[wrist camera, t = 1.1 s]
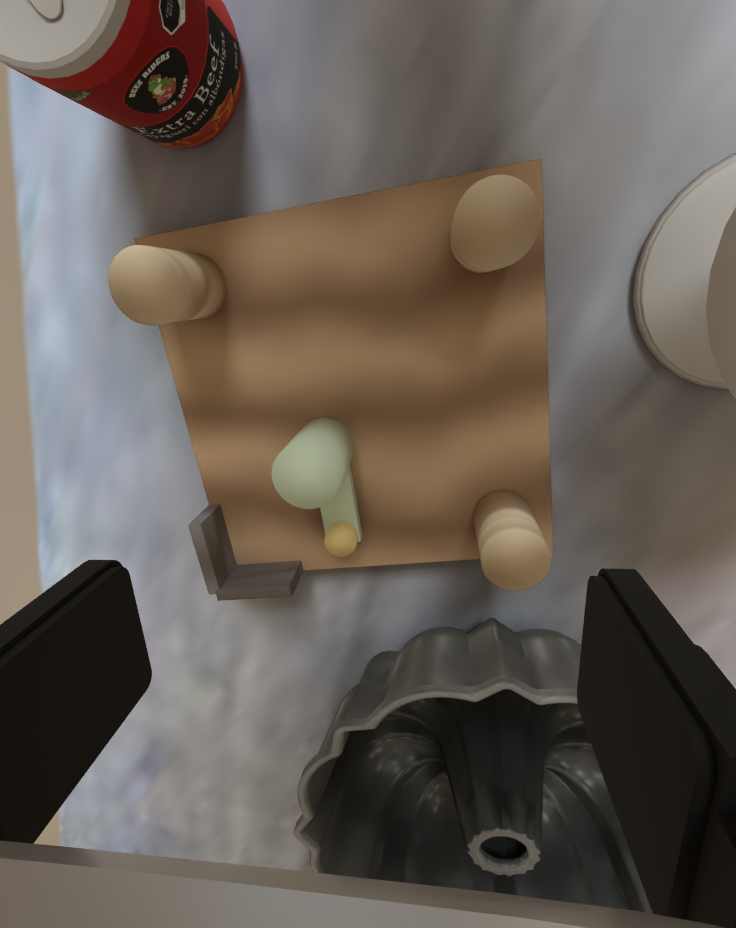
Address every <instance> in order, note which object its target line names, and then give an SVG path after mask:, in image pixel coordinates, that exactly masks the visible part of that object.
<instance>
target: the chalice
mask: <svg viewBox="0 0 736 928" xmlns="http://www.w3.org/2000/svg"><path fill="white" fill-rule="evenodd" d="M633 303H634V310H635V316H636V323H637V326H638V328H639V331H640V333H641V335H642V338H643V340H644V342H645V345H646V346H647V348H648V349H649V350H650V351H651V353H652V354H653V355H654V356H655V358H656V359H657V360H658V362H659V363H660V364H662V365H663V366H664V367H666V368H667V369H668V370H670V371H671V372H672V373H674V374H675V375H676V376H678V377H680V378H682V379H685V380H687V381H690V382H692V383H695V384H697V385H700V386H706V387H713V388H719V389H729V391H730V393H731V395H732V396H733V397H734V398H735V399H736V153H735V154H732V155H730V156H729V157H727V158H725V159H724V160H722V161H720V162H718V163H717V164H715V165H713V166H712V167H710V168H708V169H707V170H705V171H703V172H702V173H701V174H700V175H699V176H698V177H696V178H695V179H694V180H693V181H692V182H691V183H689V184H688V185H687V186H686V187H685V188H684V189H683V190H681V191H680V192H679V193H678V194H677V195H676V197H675V198H674V199H673V200H672V202H671V203H670V204H669V205H668V207H667V208H666V209H665V210H664V212H663V213H662V214H661V215H660V217H659V218H658V220H657V221H656V223H655V225H654V227H653V229H652V231H651V232H650V234H649V236H648V238H647V240H646V242H645V244H644V246H643V249H642V252H641V255H640V259H639V262H638V265H637V268H636V272H635V281H634V292H633Z"/></svg>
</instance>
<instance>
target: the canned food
mask: <svg viewBox="0 0 736 928" xmlns="http://www.w3.org/2000/svg"><path fill="white" fill-rule="evenodd" d="M0 61H1V62H3V63H5V64H6V65H7V66H9V67H10V68H12V69H14V70H16V71H18V72H20V73H22V74H24V75H26V76H28V77H29V78H31V79H32V80H34V81H36V82H38V83H40V84H42V85H44V86H46V87H48V88H50V89H52V90H53V91H55V92H57V93H59V94H61V95H63V96H65V97H67V98H69V99H71V100H73V101H75V102H77V103H79V104H81V105H83V106H85V107H87V108H89V109H90V110H92V111H94V112H96V113H98V114H100V115H102V116H104V117H106V118H108V119H110V120H112V121H114V122H116V123H118V124H120V125H122V126H124V127H126V128H127V129H129V130H131V131H133V132H135V133H137V134H139V135H141V136H143V137H145V138H147V139H149V140H151V141H153V142H156V143H158V144H160V145H163V146H167V147H173V148H186V147H194V146H198V145H201V144H203V143H206V142H208V141H210V140H211V139H213V138H214V137H216V136H217V135H218V134H219V133H220V132H221V131H222V130H223V129H224V128H225V127H226V126H227V124H228V122H229V121H230V119H231V117H232V116H233V114H234V111H235V109H236V106H237V103H238V100H239V96H240V90H241V85H242V63H241V55H240V48H239V43H238V39H237V36H236V32H235V29H234V25H233V22H232V20H231V18H230V16H229V13H228V11H227V9H226V7H225V5H224V3H223V2H222V0H0Z"/></svg>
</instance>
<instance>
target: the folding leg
mask: <svg viewBox="0 0 736 928" xmlns="http://www.w3.org/2000/svg"><path fill="white" fill-rule="evenodd" d="M354 453H355V443H354V439H353V437H352V435H351V433H350V431H349V430H348V429H347V428H346V427H345V426H344V425H343V424H341V423H340V422H338V421H336V420H333V419H329V418H320V419H315V420H313V421H311V422H309V423H308V424H306V425H305V426H304V427H303V428H302V429H301V431H300V432H299V433H298V434H297V435H296V436H295V437H294V438H293V439H292V440H291V441H290V442H289V444H288V445H287V446H286V447H285V448H284V449H283V450H282V451H281V452H280V453H279V455H278V456H277V457H276V459H275V461H274V463H273V466H272V481H273V484H274V487H275V489H276V491H277V492H278V494H279V495H280V496H281V497H282V498H283V499H284V500H285V501H286V502H288V503H290V504H291V505H293V506H296V507H299V508H303V509H315V508H319V507H320V509H321V514H322V519H323V524H324V529H325V534H326V536H325V540H324V543H325V547H326V549H327V550H328V551H329V552H330V553H331V554H333V555H335V556H338V557H345V556H348V555H350V554H352V553H353V551H354V550H355V548H356V545H357V542H360V541H361V539H362V530H361V524H360V518H359V512H358V506H357V501H356V495H355V489H354V483H353V477H352V472H351V466H350V463H351V461H352V459H353V457H354Z"/></svg>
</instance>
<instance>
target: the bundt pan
mask: <svg viewBox="0 0 736 928" xmlns="http://www.w3.org/2000/svg"><path fill="white" fill-rule="evenodd" d="M580 655H581V645H580V644H578V643H577V642H576V641H574V640H573V639H571V638H569V637H567V636H565V635H563V634H561V633H558V632H555V631H551V630H545V629H530V630H526V631H522V632H519V633H517V634H516V633H515V632H513V631H512V630H510V629H509V628H507V627H506V626H504V625H503V624H501V623H500V622H498V621H497V620H496V619H494V618H489V619H487V620H486V621H484V622H483V623H482V624H480V625H479V626H477V627H476V628H475V629H473V630H472V631H470V632H469V633H466V632H464V631H462V630H459V629H455V628H450V627H438V628H432V629H429V630H426V631H424V632H422V633H420V634H418V635H417V636H415V637H414V638H413V639H411V640H410V641H409V642H408V643H407V644H406V646H405V647H404V648H403V649H402V650H401V652H399V651H385V652H381V653H379V654H377V655H376V656H374V657H373V658H372V659H371V660H370V662H369V663H368V665H367V666H366V669H365V671H364V673H363V676H362V678H361V681H360V683H359V684H358V685H356V686H355V687H354V688H352V690H351V691H350V692H349V693H348V694H347V695H346V696H345V698H344V699H343V701H342V702H341V704H340V706H339V708H338V710H337V713H336V715H335V717H334V719H333V722H332V724H331V726H330V728H329V731H328V733H327V735H326V737H325V740H324V742H323V744H322V746H321V749H320V751H319V753H318V754H317V755H315V756H314V757H313V758H312V759H311V760H310V761H309V763H308V764H307V765H306V767H305V768H304V771H303V773H302V776H301V779H300V782H299V786H298V801H299V805H300V808H301V810H302V812H303V815H302V816H301V817H300V818H299V820H298V821H297V823H296V826H295V830H294V835H295V836H296V838H297V839H298V840H299V841H300V842H301V843H302V844H304V845H305V846H306V847H307V848H308V849H309V850H310V864H311V869H312V872H313V873H322V874H331V875H340V876H349V877H358V878H367V879H376V880H385V881H394V882H403V883H412V884H421V885H430V886H439V887H448V888H457V889H466V890H475V891H484V892H493V893H502V894H510V895H517V896H525V897H533V898H540V899H548V900H556V901H563V902H571V903H579V904H586V905H594V906H602V907H610V908H617V909H625V910H633V911H639V912H645V913H650V914H653V912H652V910H651V907H650V904H649V902H648V899H647V896H646V893H645V891H644V888H643V885H642V882H641V880H640V877H639V874H638V871H637V869H636V866H635V863H634V861H633V858H632V855H631V852H630V850H629V847H628V844H627V841H626V839H625V836H624V833H623V830H622V828H621V825H620V822H619V819H618V817H617V814H616V811H615V808H614V806H613V803H612V800H611V797H610V795H609V792H608V789H607V786H606V784H605V781H604V778H603V776H602V773H601V770H600V767H599V765H598V762H597V759H596V756H595V754H594V751H593V748H592V745H591V743H590V740H589V737H588V734H587V732H586V729H585V726H584V723H583V721H582V718H581V715H580V712H579V708H578V702H577V685H578V675H579V665H580Z"/></svg>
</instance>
